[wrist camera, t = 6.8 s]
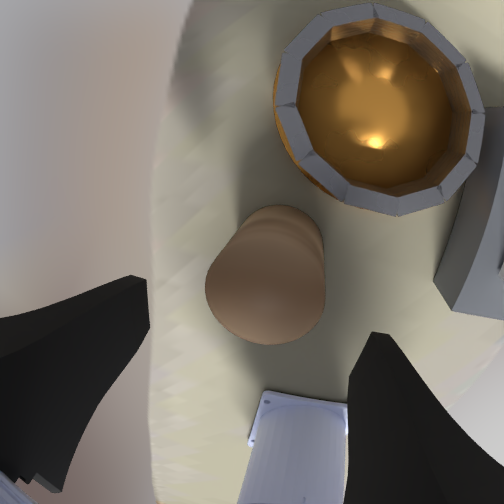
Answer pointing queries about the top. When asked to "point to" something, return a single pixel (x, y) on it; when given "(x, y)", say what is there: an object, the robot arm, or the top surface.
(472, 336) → the top surface
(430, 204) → the ring
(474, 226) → the switch box
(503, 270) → the handle
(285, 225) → the brown tapered cylinder
